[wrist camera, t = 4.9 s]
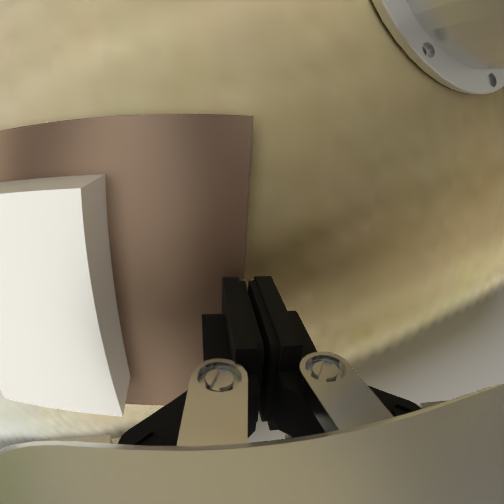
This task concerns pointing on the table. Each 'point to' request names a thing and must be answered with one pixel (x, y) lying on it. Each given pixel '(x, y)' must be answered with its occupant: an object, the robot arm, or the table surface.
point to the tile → (59, 297)
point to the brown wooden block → (155, 224)
